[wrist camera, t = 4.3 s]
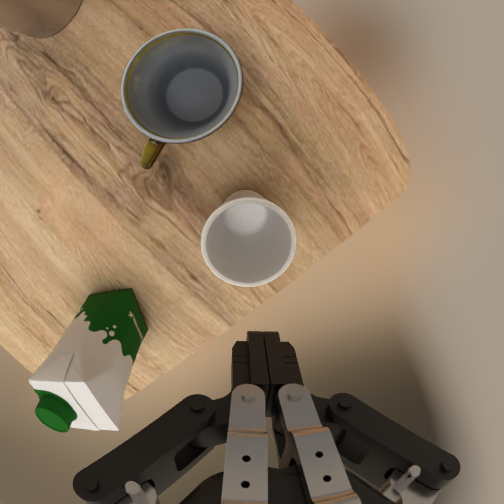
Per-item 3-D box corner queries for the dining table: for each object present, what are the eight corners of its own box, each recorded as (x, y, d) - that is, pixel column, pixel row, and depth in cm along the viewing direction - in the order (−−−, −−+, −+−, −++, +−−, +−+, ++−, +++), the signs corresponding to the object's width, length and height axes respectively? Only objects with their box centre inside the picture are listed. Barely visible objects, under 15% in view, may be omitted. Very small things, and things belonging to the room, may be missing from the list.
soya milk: (81, 289, 39) (12, 389, 20) (136, 281, 39) (79, 394, 20) (104, 338, 42) (57, 442, 24) (156, 333, 42) (124, 450, 24)
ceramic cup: (176, 42, 28) (155, 13, 18) (256, 75, 30) (265, 55, 21) (127, 143, 32) (89, 151, 23) (204, 176, 34) (192, 196, 25)
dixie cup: (269, 168, 34) (282, 184, 25) (289, 234, 37) (306, 272, 28) (198, 191, 35) (185, 216, 25) (223, 255, 38) (220, 298, 29)
